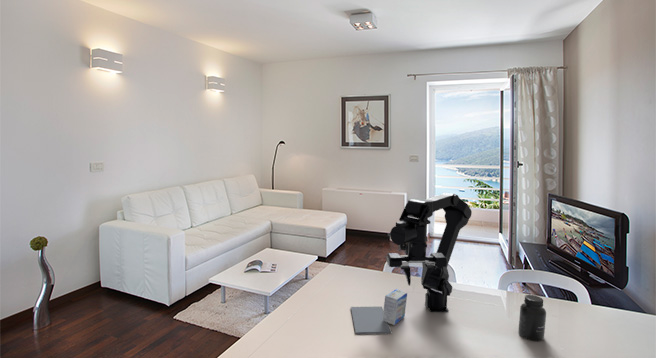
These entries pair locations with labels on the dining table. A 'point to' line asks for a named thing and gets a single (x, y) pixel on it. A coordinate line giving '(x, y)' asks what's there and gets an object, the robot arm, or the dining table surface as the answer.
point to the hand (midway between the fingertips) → (415, 285)
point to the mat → (369, 320)
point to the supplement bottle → (532, 318)
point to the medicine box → (394, 306)
